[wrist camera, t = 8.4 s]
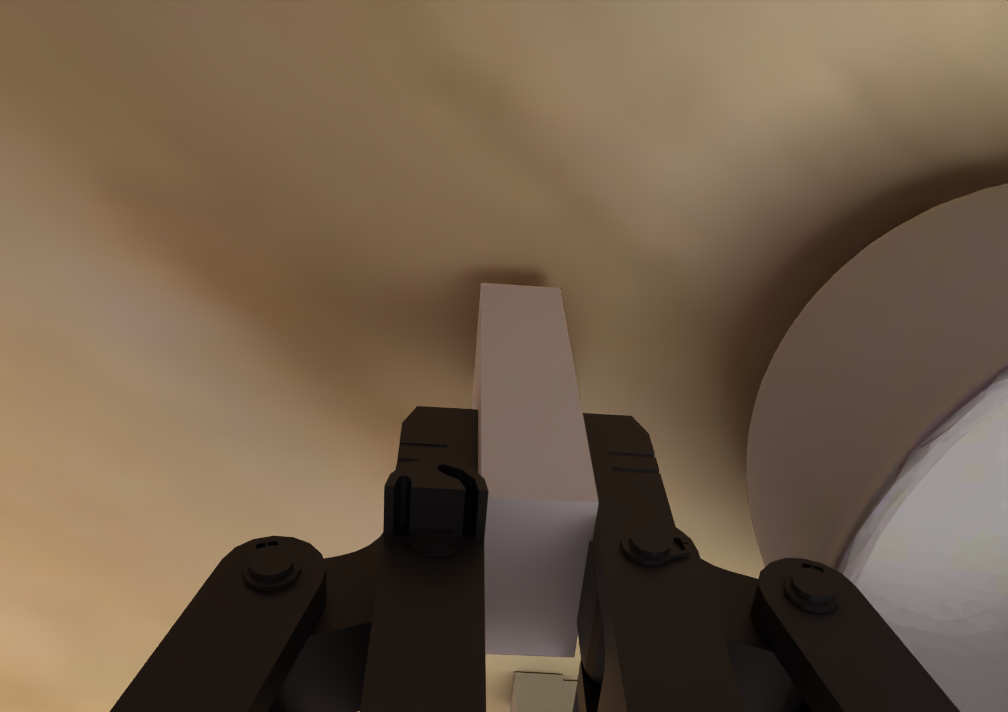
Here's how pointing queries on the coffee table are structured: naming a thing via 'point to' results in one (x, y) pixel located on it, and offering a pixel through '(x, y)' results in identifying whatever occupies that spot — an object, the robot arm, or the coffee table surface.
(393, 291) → the coffee table surface
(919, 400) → the teacup
